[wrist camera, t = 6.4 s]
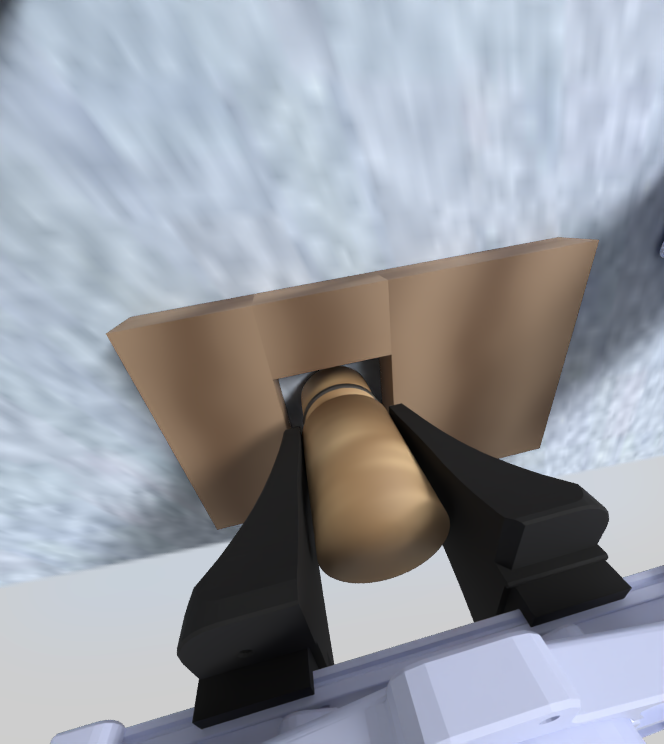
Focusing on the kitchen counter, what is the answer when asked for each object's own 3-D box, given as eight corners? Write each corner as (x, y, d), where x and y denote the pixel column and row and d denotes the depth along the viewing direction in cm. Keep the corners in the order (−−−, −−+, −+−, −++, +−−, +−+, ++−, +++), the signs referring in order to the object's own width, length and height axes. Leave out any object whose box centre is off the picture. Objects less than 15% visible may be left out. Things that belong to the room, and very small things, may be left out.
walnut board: (558, 237, 14) (599, 239, 12) (516, 427, 20) (539, 448, 18) (129, 317, 12) (105, 333, 10) (222, 499, 18) (217, 529, 16)
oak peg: (369, 356, 15) (456, 482, 8) (372, 418, 16) (444, 564, 10) (290, 369, 14) (307, 517, 7) (303, 432, 16) (325, 595, 9)
